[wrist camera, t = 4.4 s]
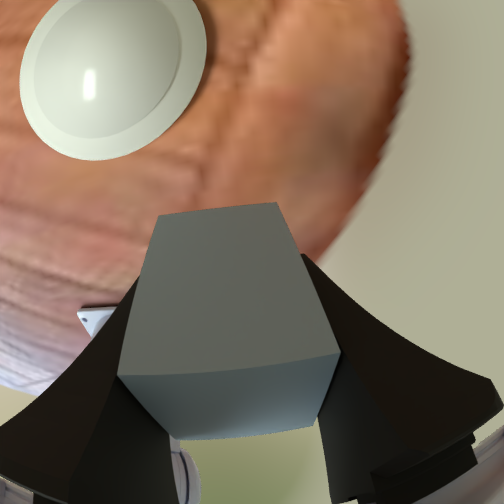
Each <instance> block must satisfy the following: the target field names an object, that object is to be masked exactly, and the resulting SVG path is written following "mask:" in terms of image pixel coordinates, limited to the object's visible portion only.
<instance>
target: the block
mask: <svg viewBox="0 0 504 504" xmlns="http://www.w3.org/2000/svg"><path fill="white" fill-rule="evenodd" d="M340 353H341V352H340V349H339V346H338V344H337V341H336V339H335V336H334V334H333V331H332V329H331V326H330V324H329V321H328V319H327V316H326V314H325V312H324V309H323V307H322V304H321V302H320V299H319V297H318V295H317V292H316V290H315V288H314V285H313V283H312V280H311V278H310V276H309V273H308V271H307V269H306V267H305V264H304V262H303V260H302V257H301V255H300V253H299V251H298V248H297V246H296V244H295V242H294V239H293V237H292V235H291V233H290V230H289V228H288V226H287V224H286V222H285V219H284V217H283V215H282V213H281V211H280V209H279V206H278V204H277V202H273V203H262V204H252V205H242V206H233V207H223V208H215V209H206V210H198V211H190V212H182V213H175V214H167V215H160V216H158V219H157V222H156V225H155V228H154V231H153V234H152V237H151V240H150V244H149V247H148V250H147V253H146V256H145V260H144V263H143V267H142V270H141V273H140V277H139V281H138V284H137V288H136V292H135V295H134V299H133V303H132V307H131V311H130V315H129V319H128V324H127V328H126V332H125V337H124V342H123V346H122V351H121V356H120V361H119V367H118V372H117V375H118V377H119V378H120V379H121V381H122V382H123V383H124V384H125V386H126V387H127V388H128V389H129V390H130V392H131V393H132V394H133V395H134V396H135V397H136V399H137V400H138V401H139V402H140V403H141V404H142V406H143V407H144V408H145V409H146V410H147V411H148V412H149V413H150V414H151V415H152V417H153V418H154V419H155V420H156V421H157V422H158V423H159V424H160V425H161V426H162V427H163V428H164V429H165V430H166V431H167V432H168V433H169V434H170V435H171V436H172V437H173V438H174V439H175V440H210V439H225V438H236V437H247V436H255V435H263V434H270V433H277V432H283V431H288V430H293V429H299V428H304V427H309V426H313V424H314V422H315V420H316V417H317V415H318V412H319V410H320V408H321V405H322V403H323V400H324V397H325V395H326V392H327V390H328V387H329V384H330V382H331V379H332V376H333V373H334V370H335V368H336V365H337V362H338V359H339V356H340Z"/></svg>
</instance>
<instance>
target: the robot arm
mask: <svg viewBox="0 0 504 504" xmlns="http://www.w3.org/2000/svg"><path fill="white" fill-rule="evenodd" d="M300 255H301V257H302V260H303V262H304V264H305V267H306V269H307V271H308V273H309V276H310V278H311V280H312V283H313V285H314V288H315V290H316V292H317V295H318V297H319V299H320V302H321V304H322V307H323V309H324V312H325V314H326V316H327V319H328V321H329V324H330V326H331V329H332V331H333V334H334V336H335V339H336V341H337V344H338V346H339V349H340V352H341V353H340V356H339V359H338V362H337V365H336V368H335V370H334V373H333V376H332V379H331V382H330V384H329V387H328V390H327V392H326V395H325V397H324V400H323V403H322V405H321V408H320V410H319V412H318V415H317V417H318V422H319V427H320V432H321V438H322V443H323V449H324V455H325V461H326V467H327V475H328V483H329V492H330V497H331V502H332V504H340V503H344V502H348V501H352V500H355V499H357V501H358V504H504V425H503V426H502V427H500V428H499V429H497V430H496V431H495V432H494V433H492V434H491V435H490V436H488V437H487V438H486V439H484V440H483V441H482V442H480V443H479V445H478V446H477V447H476V448H474V449H472V446H471V445H472V444H473V443H475V440H476V439H475V436H474V434H473V432H474V431H475V430H476V429H478V428H479V427H481V426H482V425H484V424H485V423H486V422H487V421H489V420H490V419H491V418H493V417H494V416H495V415H496V414H498V413H499V412H500V411H501V410H502V409H503V406H504V404H503V402H502V400H501V398H500V396H499V394H498V392H497V390H496V389H495V386H494V385H493V383H492V381H491V379H488V378H486V377H483V376H480V375H478V374H475V373H472V372H470V371H467V370H464V369H462V368H460V367H457V366H455V365H453V364H451V363H449V362H447V361H445V360H443V359H440V358H439V357H437V356H435V355H433V354H431V353H429V352H427V351H425V350H424V349H422V348H420V347H419V346H417V345H415V344H413V343H412V342H410V341H409V340H407V339H405V338H404V337H402V336H401V335H399V334H398V333H396V332H394V331H393V330H392V329H390V328H389V327H387V326H386V325H385V324H383V323H382V322H380V321H379V320H378V319H376V318H375V317H374V316H372V315H371V314H370V313H368V312H367V311H366V310H365V309H364V308H362V307H361V306H360V305H359V304H358V303H356V302H355V301H354V300H353V299H352V298H351V297H349V296H348V295H347V294H346V293H345V292H344V291H343V290H342V289H341V288H340V287H338V286H337V285H336V284H335V283H334V282H333V281H332V280H331V279H330V278H329V277H328V276H327V275H326V274H325V273H324V272H323V271H322V270H321V269H320V268H319V267H318V266H317V265H316V264H315V263H314V262H313V261H312V260H311V259H309V258H308V257H307V256H306V255H305V254H300ZM139 277H140V276H139ZM139 277H138V278H137V280H136V281H135V282H134V284H133V285H132V287H131V288H130V289H129V291H128V292H127V294H126V295H125V296H124V298H123V299H122V301H121V302H120V303H119V305H118V306H116V307H100V308H81V309H79V310H78V312H77V315H78V317H79V318H80V320H81V322H82V323H83V325H84V326H85V328H86V329H87V331H88V333H89V334H90V336H91V337H92V338H91V341H90V343H89V344H88V346H87V347H86V348H85V349H84V350H83V352H82V353H81V354H80V355H79V356H78V357H77V358H76V359H75V361H74V362H73V363H72V364H71V365H70V366H69V367H68V368H67V369H66V370H65V371H64V372H63V373H62V374H61V375H60V376H59V377H58V378H57V379H56V380H55V381H54V382H53V383H52V384H51V385H50V386H49V387H48V388H47V389H46V390H45V391H44V392H43V393H42V394H41V395H40V396H39V397H38V398H36V399H35V400H34V401H33V402H32V403H30V404H29V405H28V406H27V407H26V408H25V409H23V410H22V411H21V412H19V413H18V414H17V415H16V416H14V417H13V418H11V419H10V420H9V421H7V422H6V423H4V424H3V425H2V426H0V476H1V477H3V478H5V479H6V480H5V479H2V478H0V504H199V503H200V498H201V480H200V474H199V471H198V468H197V465H196V463H195V462H194V460H193V459H192V457H191V456H190V454H189V453H188V452H187V451H186V450H185V449H183V448H180V440H175V439H174V438H173V437H172V436H171V435H170V434H169V433H168V432H167V431H166V430H165V429H164V428H163V427H162V426H161V425H160V424H159V423H158V422H157V421H156V420H155V419H154V418H153V417H152V415H151V414H150V413H149V412H148V411H147V410H146V409H145V408H144V407H143V406H142V404H141V403H140V402H139V401H138V400H137V399H136V397H135V396H134V395H133V394H132V393H131V392H130V390H129V389H128V388H127V387H126V386H125V384H124V383H123V382H122V381H121V379H120V378H119V377H118V375H117V372H118V367H119V361H120V356H121V351H122V346H123V342H124V337H125V332H126V328H127V324H128V319H129V315H130V311H131V307H132V303H133V299H134V295H135V292H136V288H137V284H138V281H139ZM7 480H8V481H7ZM9 481H10V482H9ZM11 482H12V483H11ZM24 488H25V489H24ZM26 489H27V490H26ZM28 490H29V491H28ZM30 491H31V492H30ZM32 492H33V493H32Z"/></svg>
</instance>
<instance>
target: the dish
mask: <svg viewBox="0 0 504 504" xmlns="http://www.w3.org/2000/svg"><path fill="white" fill-rule="evenodd" d="M206 54H207V40H206V33H205V27H204V24H203V21H202V17H201V14H200V12H199V10H198V9H197V7H196V5H195V3H194V2H193V0H59V1H58V2H57V3H56V4H55V5H54V6H53V7H52V8H51V9H50V10H49V11H48V12H47V13H46V15H45V16H44V17H43V18H42V20H41V21H40V23H39V24H38V25H37V27H36V29H35V30H34V32H33V34H32V36H31V38H30V40H29V42H28V45H27V47H26V50H25V53H24V57H23V60H22V65H21V71H20V96H21V101H22V106H23V109H24V112H25V115H26V117H27V119H28V121H29V123H30V125H31V127H32V128H33V130H34V131H35V132H36V134H37V135H38V136H39V137H40V138H41V139H42V140H43V141H44V142H45V143H46V144H47V145H49V146H50V147H51V148H53V149H55V150H56V151H58V152H60V153H62V154H64V155H67V156H69V157H73V158H77V159H82V160H106V159H112V158H117V157H120V156H124V155H127V154H129V153H131V152H134V151H136V150H138V149H140V148H142V147H144V146H145V145H147V144H149V143H150V142H152V141H153V140H154V139H156V138H157V137H159V136H160V135H161V134H162V133H163V132H164V131H166V130H167V129H168V128H169V127H170V126H171V125H172V124H173V123H174V122H175V121H176V119H177V118H178V117H179V116H180V115H181V114H182V112H183V111H184V110H185V108H186V107H187V105H188V104H189V103H190V101H191V99H192V97H193V95H194V94H195V92H196V90H197V87H198V85H199V83H200V80H201V77H202V74H203V70H204V67H205V60H206Z"/></svg>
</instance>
